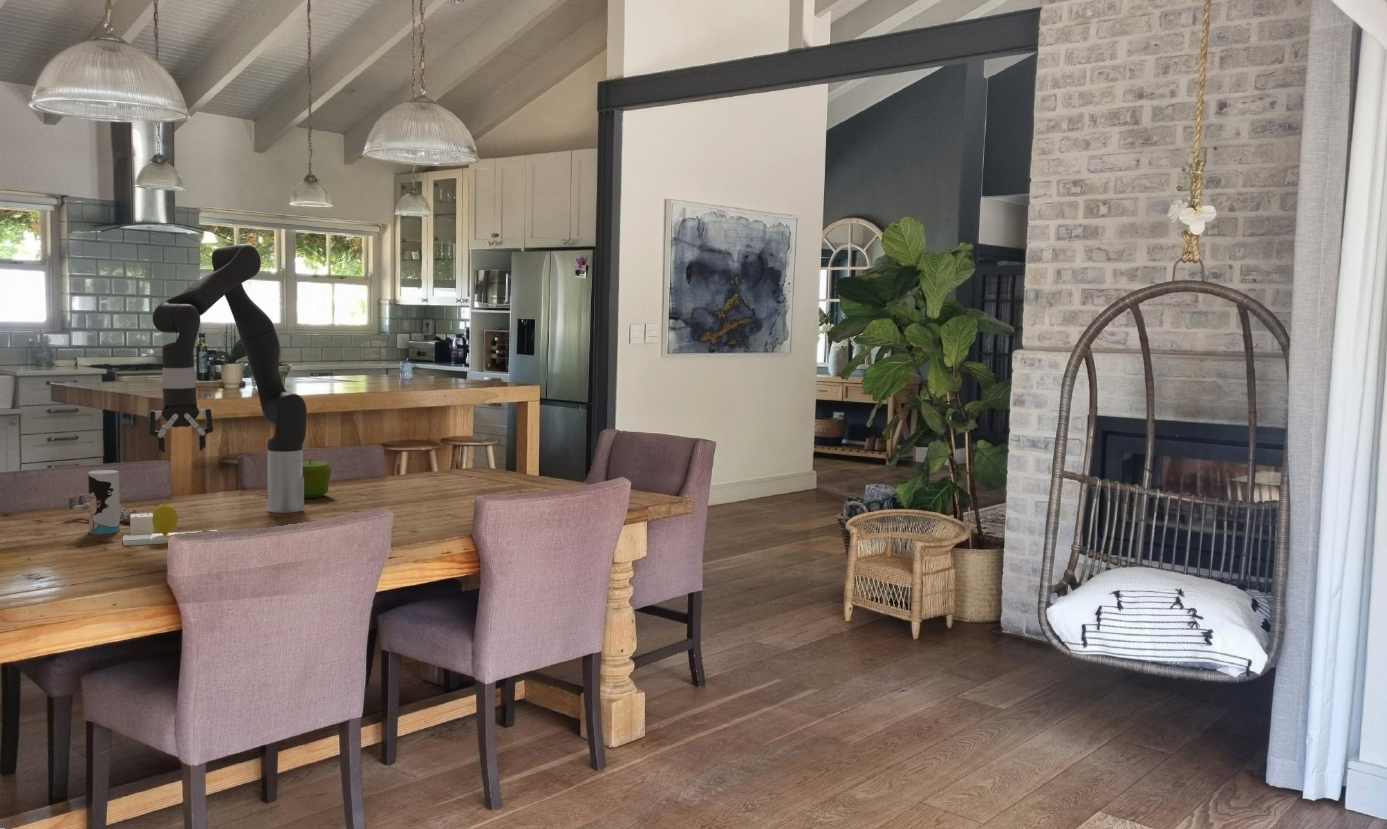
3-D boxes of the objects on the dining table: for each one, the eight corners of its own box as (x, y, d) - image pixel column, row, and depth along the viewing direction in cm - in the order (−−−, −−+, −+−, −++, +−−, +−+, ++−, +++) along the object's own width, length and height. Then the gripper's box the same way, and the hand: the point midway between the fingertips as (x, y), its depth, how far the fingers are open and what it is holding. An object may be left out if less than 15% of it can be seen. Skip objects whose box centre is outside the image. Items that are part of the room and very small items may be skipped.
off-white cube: (153, 532, 283) (153, 512, 283) (153, 536, 279) (152, 515, 278) (130, 533, 281) (130, 513, 281) (129, 537, 276) (129, 516, 276)
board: (230, 533, 284) (230, 529, 284) (232, 539, 278) (232, 534, 278) (123, 540, 273) (123, 535, 273) (123, 545, 267) (123, 540, 267)
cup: (106, 527, 287) (105, 469, 285) (125, 530, 284) (125, 471, 283) (83, 532, 280) (81, 472, 279) (103, 535, 278) (102, 474, 277)
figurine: (84, 491, 301) (148, 505, 296) (82, 512, 302) (146, 526, 297) (66, 495, 295) (131, 509, 290) (64, 516, 296) (129, 531, 291)
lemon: (157, 533, 277) (157, 500, 276) (181, 533, 277) (180, 501, 276) (148, 537, 271) (148, 504, 270) (173, 537, 272) (172, 504, 271)
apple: (300, 492, 349) (300, 456, 348) (338, 494, 347) (338, 458, 346) (280, 498, 337) (280, 461, 336) (319, 501, 335) (319, 463, 334)
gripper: (209, 383, 284) (211, 447, 286) (146, 385, 277) (149, 451, 279) (212, 386, 277) (214, 451, 279) (148, 388, 270) (151, 455, 272)
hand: (182, 451), depth 279 cm, fingers open, 8 cm apart
